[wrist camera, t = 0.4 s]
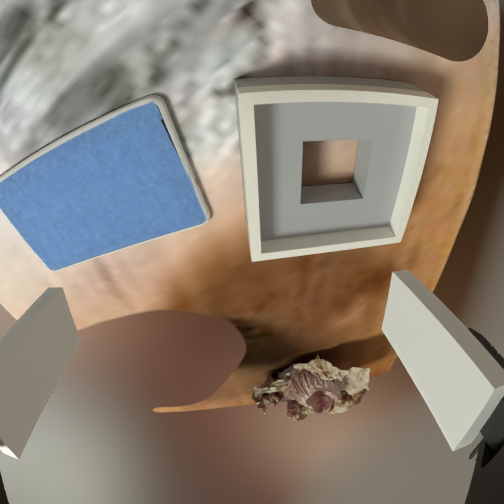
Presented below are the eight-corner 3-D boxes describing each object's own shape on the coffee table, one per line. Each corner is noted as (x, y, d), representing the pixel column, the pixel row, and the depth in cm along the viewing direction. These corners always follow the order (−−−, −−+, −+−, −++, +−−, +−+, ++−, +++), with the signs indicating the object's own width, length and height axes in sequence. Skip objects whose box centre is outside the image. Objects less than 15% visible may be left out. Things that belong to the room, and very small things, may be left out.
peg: (310, -26, 13) (412, -46, 5) (364, -19, 14) (489, -12, 5) (311, 24, 16) (410, 51, 8) (364, 29, 16) (483, 70, 8)
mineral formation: (374, 341, 48) (374, 388, 40) (366, 392, 56) (364, 433, 48) (248, 337, 55) (231, 380, 47) (262, 387, 63) (250, 425, 55)
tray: (234, 79, 19) (239, 93, 16) (410, 82, 19) (438, 99, 17) (246, 230, 29) (251, 261, 26) (383, 215, 29) (400, 242, 27)
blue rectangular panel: (161, 88, 19) (159, 93, 18) (213, 216, 28) (214, 226, 27) (-10, 181, 21) (-17, 189, 20) (55, 266, 30) (51, 275, 29)
